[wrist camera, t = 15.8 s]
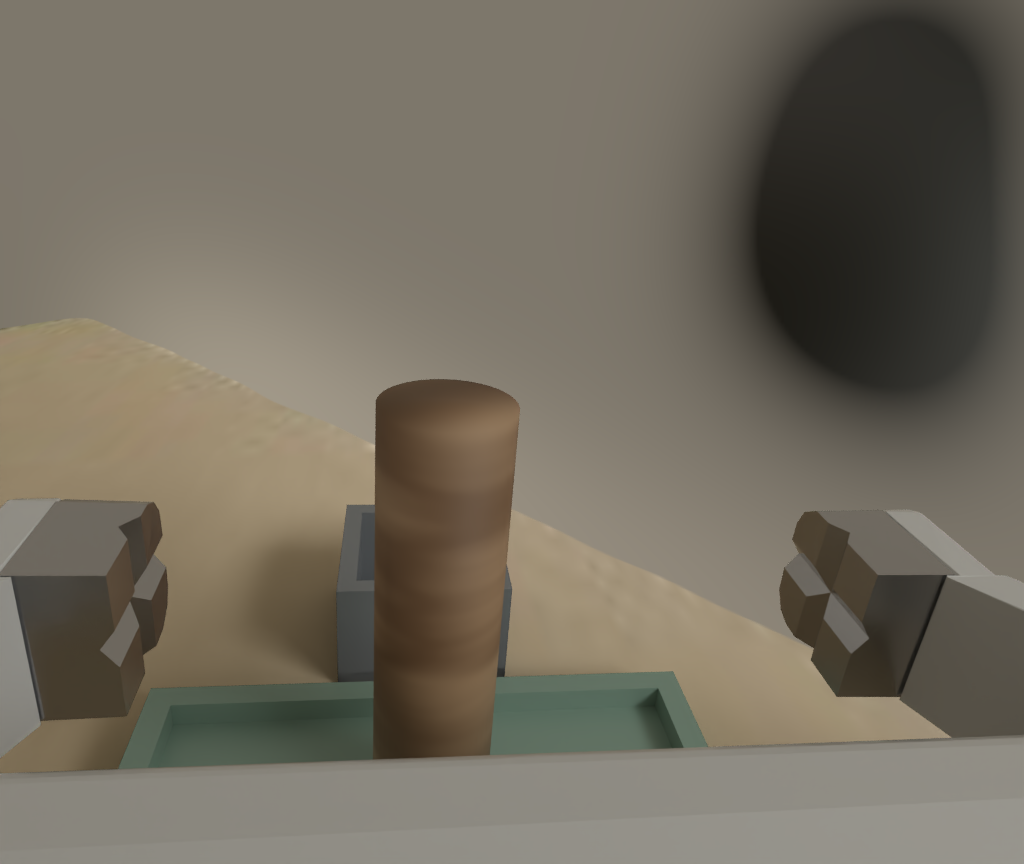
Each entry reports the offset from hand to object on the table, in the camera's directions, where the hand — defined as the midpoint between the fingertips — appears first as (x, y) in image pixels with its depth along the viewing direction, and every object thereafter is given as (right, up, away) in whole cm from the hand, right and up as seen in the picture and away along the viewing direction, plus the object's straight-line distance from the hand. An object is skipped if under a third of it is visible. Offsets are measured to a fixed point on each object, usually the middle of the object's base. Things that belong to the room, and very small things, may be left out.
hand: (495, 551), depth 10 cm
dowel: (-3, -12, +18) cm, 22 cm away
